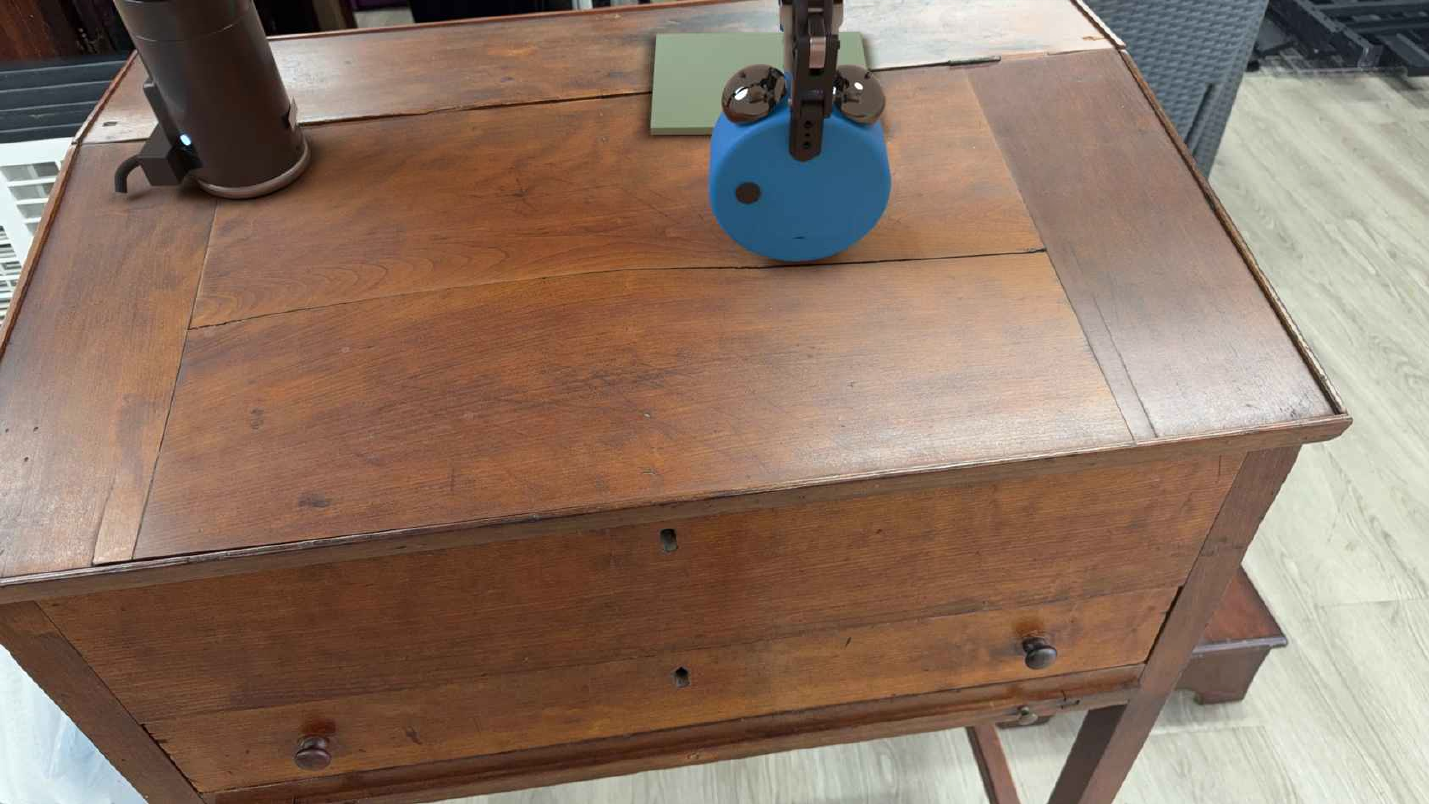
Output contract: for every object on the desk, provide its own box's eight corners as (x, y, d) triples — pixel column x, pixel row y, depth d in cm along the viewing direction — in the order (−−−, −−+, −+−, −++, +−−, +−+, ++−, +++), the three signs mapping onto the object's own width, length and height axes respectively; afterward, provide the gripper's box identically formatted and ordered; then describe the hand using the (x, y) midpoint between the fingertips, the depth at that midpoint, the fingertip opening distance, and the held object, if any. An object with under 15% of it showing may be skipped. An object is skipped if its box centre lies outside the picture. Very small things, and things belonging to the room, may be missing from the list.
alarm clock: (873, 216, 82) (897, 45, 71) (880, 268, 78) (907, 95, 67) (710, 216, 83) (709, 45, 71) (709, 267, 79) (707, 94, 67)
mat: (650, 135, 91) (650, 127, 90) (656, 41, 101) (656, 33, 101) (876, 132, 90) (877, 125, 90) (859, 38, 101) (860, 31, 100)
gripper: (750, -168, 65) (746, 71, 77) (758, -65, 55) (751, 188, 68) (869, -169, 65) (845, 70, 77) (897, -65, 55) (864, 188, 68)
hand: (801, 124), depth 72 cm, fingers closed on alarm clock, 6 cm apart
